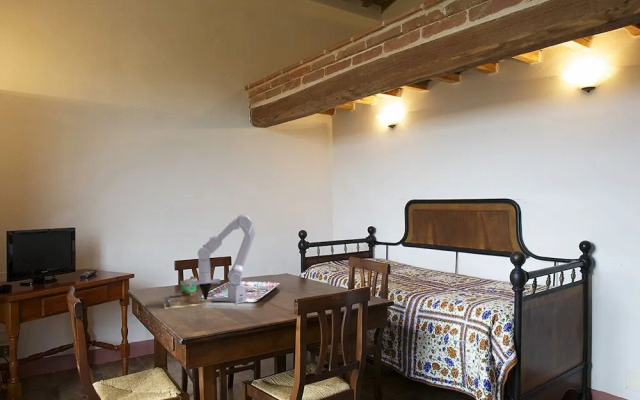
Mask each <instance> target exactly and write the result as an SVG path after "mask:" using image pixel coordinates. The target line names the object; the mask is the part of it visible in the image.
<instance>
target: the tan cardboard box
mask: <svg viewBox="0 0 640 400" xmlns="http://www.w3.org/2000/svg"><path fill="white" fill-rule="evenodd" d="M198 299H199V297H198V295H197V294H195V295H192V296H183V297H182V296H179V302H180V304H181V306H182V305H191V304H198Z"/></svg>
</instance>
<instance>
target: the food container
mask: <svg viewBox="0 0 640 400" xmlns="http://www.w3.org/2000/svg"><path fill="white" fill-rule="evenodd" d="M193 281H198V278H197V277H196V276H190V278H187V279H185V280H180V282H179V285H180V292H181V293H180V294H181V297H183V296H192V295H197V285H196V286H190V282H193Z"/></svg>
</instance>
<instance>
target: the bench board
mask: <svg viewBox="0 0 640 400" xmlns="http://www.w3.org/2000/svg"><path fill="white" fill-rule="evenodd" d="M211 304H212V305H213V302H212V301H211V299H210V297H209V298H208V297H207V299H206V300H204V298H198V304H191V305H182V306H181V304H180V301H172V302H171V301H170V307H166V305H165V302H164V303H163V306H164V309H165V310H171V309H178V308H186V307H195V306H202V305H204V306H205V305H211Z"/></svg>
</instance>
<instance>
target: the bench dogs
mask: <svg viewBox="0 0 640 400" xmlns="http://www.w3.org/2000/svg"><path fill="white" fill-rule="evenodd" d="M164 303H165V305H166V307H170V303H171V298H170V297H169V296H166V297H165V298H164Z"/></svg>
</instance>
